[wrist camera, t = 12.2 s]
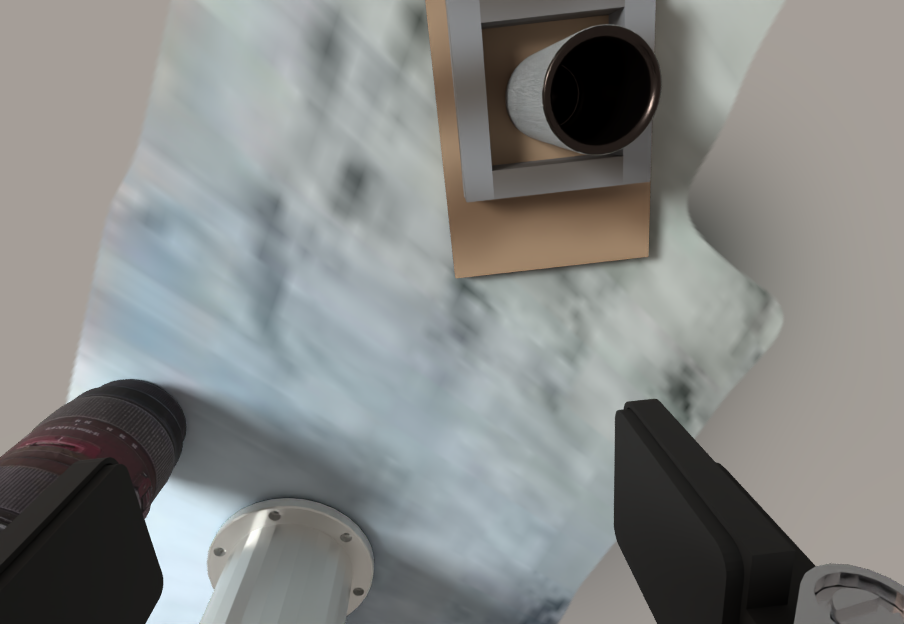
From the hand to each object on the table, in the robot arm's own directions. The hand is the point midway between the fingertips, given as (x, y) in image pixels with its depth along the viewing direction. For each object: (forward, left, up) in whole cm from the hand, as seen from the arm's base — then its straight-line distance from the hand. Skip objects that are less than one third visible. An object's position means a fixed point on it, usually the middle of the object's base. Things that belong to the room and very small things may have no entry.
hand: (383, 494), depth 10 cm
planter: (+7, -8, -23) cm, 26 cm away
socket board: (+7, -8, -24) cm, 27 cm away
